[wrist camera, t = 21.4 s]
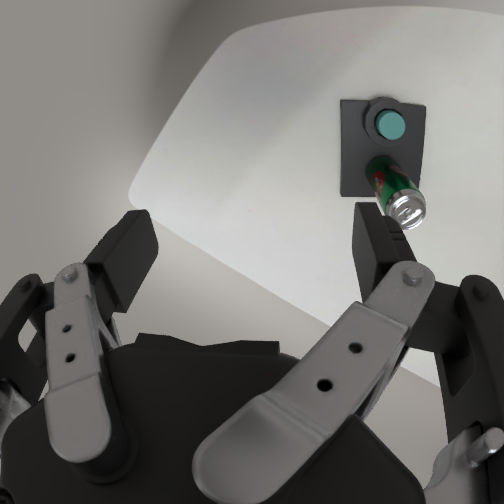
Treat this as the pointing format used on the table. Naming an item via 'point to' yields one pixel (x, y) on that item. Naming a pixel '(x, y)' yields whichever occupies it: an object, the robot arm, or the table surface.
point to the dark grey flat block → (378, 142)
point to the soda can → (396, 192)
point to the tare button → (390, 124)
